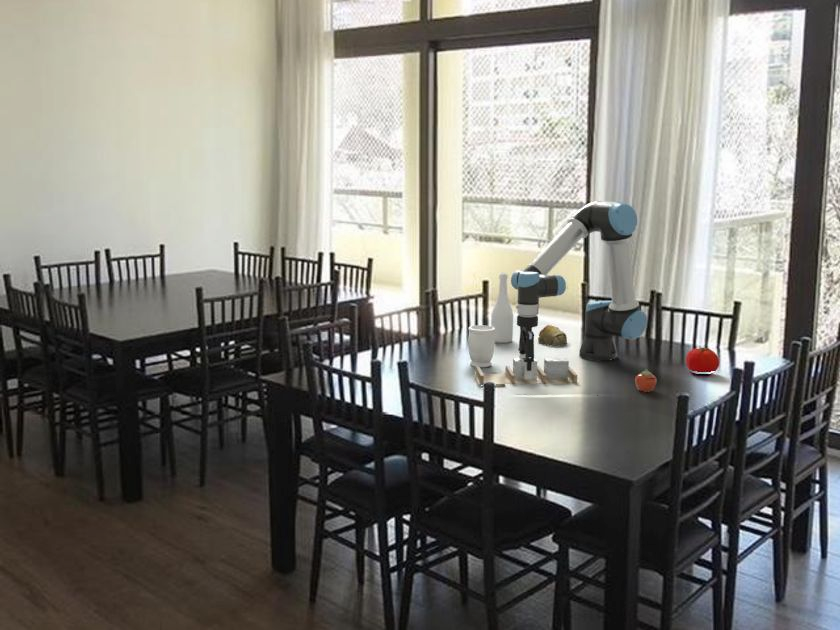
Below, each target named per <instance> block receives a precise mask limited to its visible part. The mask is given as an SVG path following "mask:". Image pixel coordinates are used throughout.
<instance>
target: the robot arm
mask: <svg viewBox="0 0 840 630" xmlns="http://www.w3.org/2000/svg"><path fill="white" fill-rule="evenodd" d="M637 226H638V215H637V212H636V209H634V207H632V206H631V205H630V204H628V203H624V202H619V201H617V202H616V201H602V200H595V201H592V202H590V203H587V204H585V205H584V206H582V207H581V208H579V209H578V210H577V211H576V212H575V213H573V214H572V215H571V217H569V218H568V219H567V222H566V226H565V227H563V228H562V230H560V232H559V233H557V234H556V236H555V237H554V238H553V239H552V240H551V241H550V242H549V243H548V244H547V245H546V246H545V247H544V249H542V250H541V252H539V254H538V255H537V256H536V257H535V258H534V259H532V261H531V262H530V263H529V264H528V265H527V266H525V268H524V269H523V270H522V269H520V270H516V271H514V272H513V273H512V275H511V277H510V284H511V285H512V287H513V289H515V290H517V305H516V306H515V309H517V316H516V325H517V327H519V329H520V330H519V341H518V342H519V343H518V351H519V357H518V358H526V360H524V362H525V372H524V379H532V369H533V361H534V358H535V333H534V331H533V328H537V327H538V325H539V316H538V315H539V308H540V307H539V306H540V305H539V302H540V298H549V297H558V296H561V295H563V294H564V293H565V292H566V287H567V283H566V280H565V278H564V277H563V276H562V275H559V274H558V275H557V274H556V275H555V274H553V275H548V274H549V273H550V272H551V271H552V270H553V269H554V268H555V267H556V266H557V264H559V263H560V261H561V260H563V258H564V257H565V256H566V255H567V254H568V253H569V252H570V251H571V250H572V249H573V248H574V247H575V246H576V245H577V243H578V242H579V241H581V239H584V238H587V237H588V236H589V235H590V234H592V233H595V232H597V233H598V232H599V233H600V240H601V241H602V242H603V243H605V248H606V249H605V250H606V257H607V258H606V260H607V267H608V276H609V284H610V293H611V294H610V295H611V300H594V301H589V302H587V303H586V307H585V312H584V313H585V314H584V317H585V318H584V321H585V322H584V339H583V341H582V343H581V346H580V348H579V353H578V354H579V357H580V358H581V359H584V358H585V360H589V359H591V360H590V361H596V360H609V361H611V360H610V359H614V358H616V357H617V358H618V351H617V346H616V343H615V339H614V338H615V337H619V338H623V339H624V340H636V339H638V338H640V337H641V336H642V335H643V334H644V332H645V330H646V328H647V325H648V317H647V314H646V313H645V311H642V310H640V308H641V307H640V303H639V301H638V300H636V299H635V292H634V290H635V289H634V281H633V270H632V262H631V260H632V259H631V251H630V242H629V241H630V239H631V238H633V233H634V232H635V230H636V229H637V228H636V227H637ZM617 358H616V359H617ZM614 360H615V359H614Z"/></svg>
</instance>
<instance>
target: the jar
mask: <svg viewBox="0 0 840 630" xmlns="http://www.w3.org/2000/svg"><path fill="white" fill-rule="evenodd" d="M468 331H469V333H468V338H467V346H468V347H467V348H468V354H469V355H468V356H469V359H470V360H471V362H470V366H472V367H474V368H476V366H479V367H480V368H489V367H491V366H492V362H491V361H492V359H493V356H494V351H495V346H496V342H495V337H494V331H495V328H494V327H492V326H491V325H484V324H483V325H481V324H480V325H479V324H478V325H477V324H476V325H471V326H469V327H468Z"/></svg>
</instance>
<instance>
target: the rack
mask: <svg viewBox="0 0 840 630" xmlns="http://www.w3.org/2000/svg"><path fill="white" fill-rule="evenodd" d="M474 368H475V373H473V378H474V380H475V382H476V384H477V386H478V387H479V386H481V385H483V384H484V383H485V382H489V381H490V382H494V383H495V384H496V387H506V385H533V384H534V385H536V384H539V385H544V384H546V385H549V384H557V385H558V384H559V385H560V384H561V385H563V384H567V385H568V384H579V382H578V374H577V373H576V372H575V371H574V369H572V368H571V367H570V366H569V368H568V380H546V374H545V373H544V369H542V368H541V367H540V365H537V380H515V374H514V373H513V369H511V367H510V366H509V365H505V372H504V373H483V372H482V369H481V367H479V366H476V367H474ZM496 387H495V388H496Z"/></svg>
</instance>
